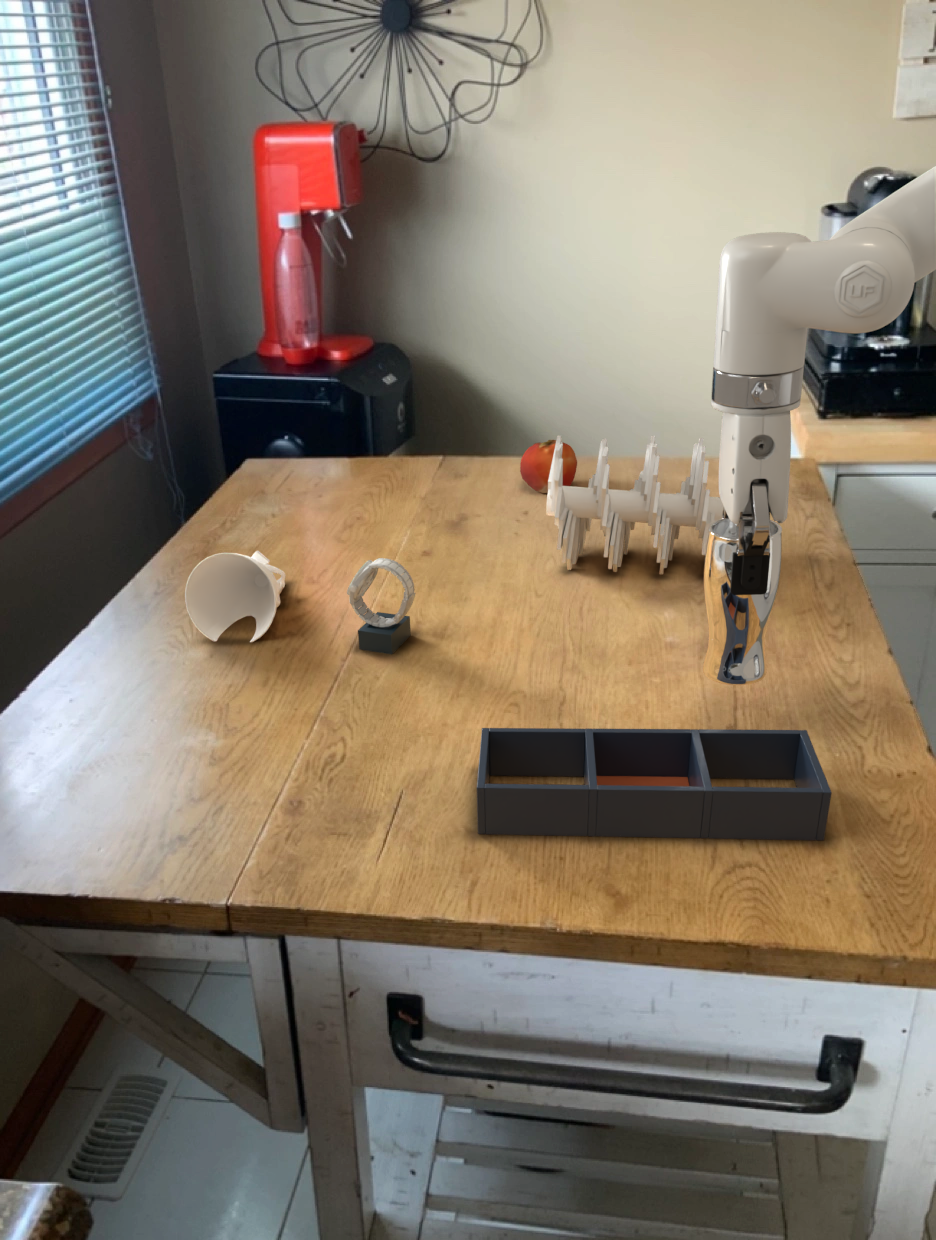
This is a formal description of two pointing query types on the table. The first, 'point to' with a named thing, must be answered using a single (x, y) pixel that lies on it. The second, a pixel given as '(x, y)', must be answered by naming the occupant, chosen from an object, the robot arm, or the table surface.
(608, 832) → the compartment tray
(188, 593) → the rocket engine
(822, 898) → the table surface
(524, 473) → the tomato
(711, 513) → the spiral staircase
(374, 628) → the watch
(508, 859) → the table surface
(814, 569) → the table surface
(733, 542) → the beer glass
